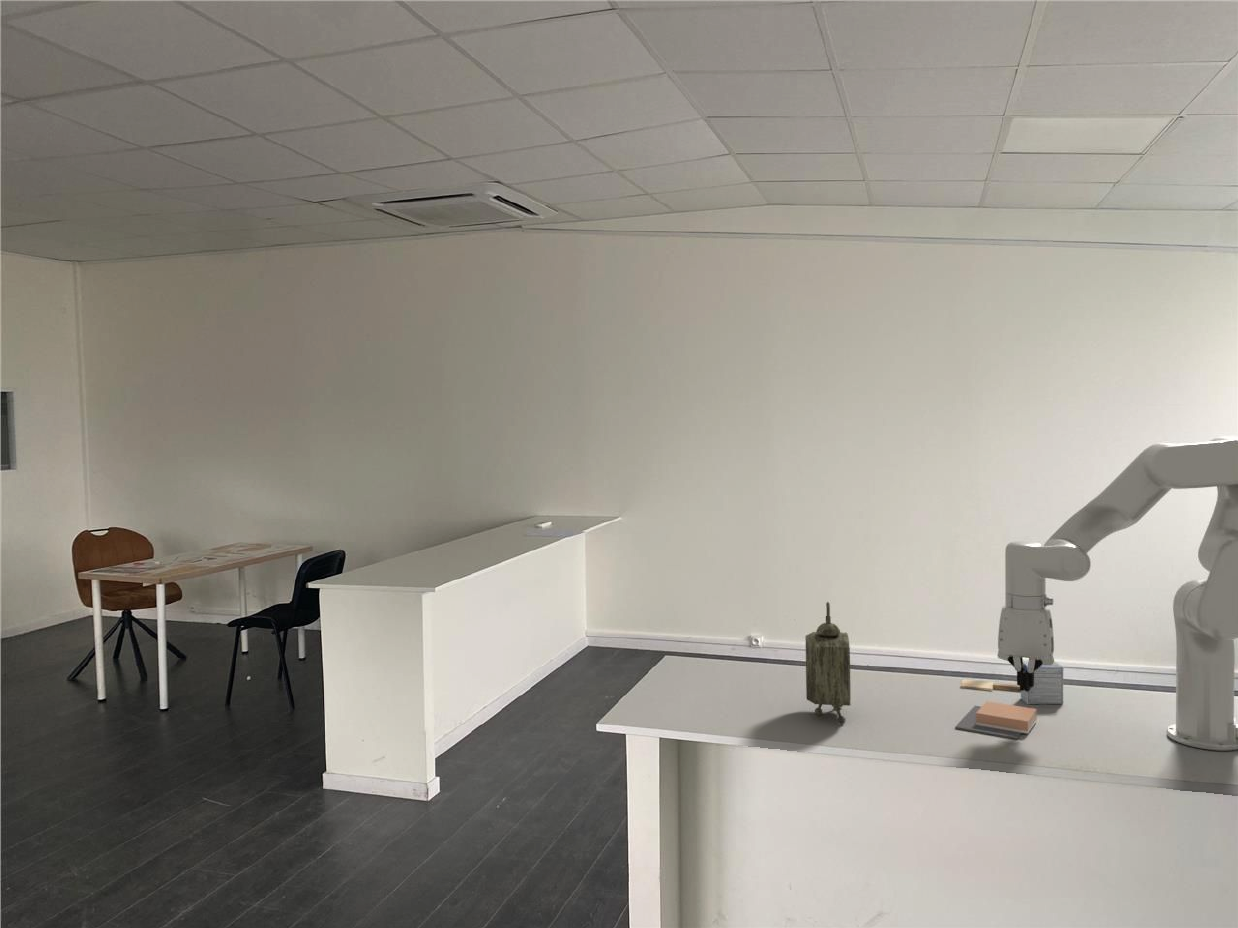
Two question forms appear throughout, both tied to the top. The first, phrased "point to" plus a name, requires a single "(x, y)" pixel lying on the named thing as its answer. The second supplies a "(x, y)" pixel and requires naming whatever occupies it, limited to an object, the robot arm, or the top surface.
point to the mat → (970, 725)
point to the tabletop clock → (828, 667)
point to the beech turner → (988, 685)
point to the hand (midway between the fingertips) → (1025, 689)
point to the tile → (1006, 717)
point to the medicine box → (1045, 685)
